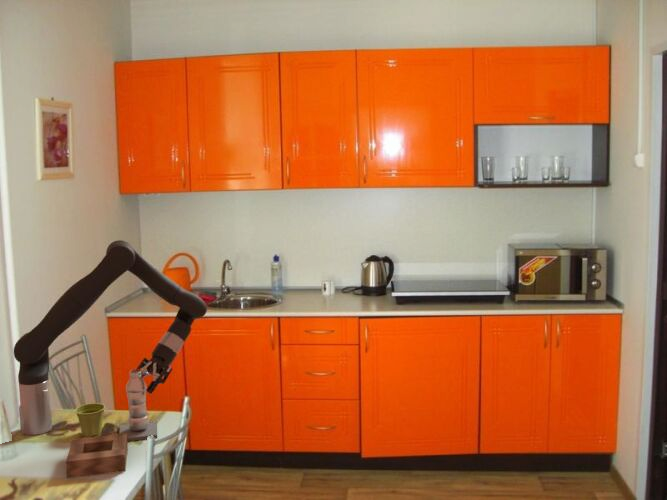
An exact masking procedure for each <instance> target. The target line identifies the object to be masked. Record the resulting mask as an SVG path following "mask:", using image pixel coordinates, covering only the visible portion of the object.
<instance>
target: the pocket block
mask: <svg viewBox="0 0 667 500" xmlns="http://www.w3.org/2000/svg"><path fill="white" fill-rule="evenodd" d="M128 451H129V449H128V441H127V433H125V434H119V433H117V434H108V435H99V436H91V437H90V436H88V437H81V438H72V439H71V443H70V446H69V449H68V453H67V456H66V460H65V469H66V470H65V472H66V479H72V478H80V477H88V476H95V475H96V476H97V475H103V474H111V473H112V474H113V473H118V472H119V473H120V472H121V473H122V472H126V469H127V458H128Z"/></svg>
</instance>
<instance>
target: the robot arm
mask: <svg viewBox="0 0 667 500" xmlns="http://www.w3.org/2000/svg"><path fill="white" fill-rule="evenodd" d="M126 272H129V273H131V274H132V275H134V276H135V277H137V278H138V279H139V280H140V281H141V282H143V283H144V284H145V285H146V286H147V287H148V288H149V289H150V290H151V291H152V292H153V293H154V294H156V296H158V297H159V298H161V299H162V300H164V301H165V302H166V303H168V304H170V305H171V306H176V307H178V308H179V309H178V311H177V313H176V314H175V317H174V319H173V322H172V323H171V325H170V326H169V327H168V329H167V330H166V331H165V333H164V334H163V335H162V337H161V338H160V340H159V341H158V343H156V345H155V347H154V349H153V350H152V352H151V358H150V359H148V358H147V357H144V358H143V359H142V361H141V362H140V363H139V365H138V366H137V367H136V369H135V370H141V374H142V377H141V378H142V379H143V380H144V378H145V377H148V376H151V375H152V376H153V379H152V380H151V381H150V384H149V385H148V386H147V387H146V393H148V394H153V392H155V390H156V388H157V387H158V385H160V384H162V385H163V384H164V385H165V383H166V381H167V380H168V378H169V376H170V375H171V373H172V371H173V368H172V366H171V365H172V364H173V362H174V360H175V359H176V357H177V356H178V355H179V353H180V351H181V349H182V348H183V346H184V343H185V342H186V340H187V339H188V337H189V336H190V334H191V332H192V327H191V326H192V325H193V323H194V321H195V320H196V319H200V318H201V319H202V317H204V316H205V315H206V313H207V311H208V306H207V304H206V302H205V301H204V300H203V299H202V298H201V297H199V296H198V295H197V294H194V293H192V292H190V291H188V290H187V289H185V288H183V287H182V286H180V285H179V284H178V283H176V281H173V279H171V278H169V277H168V276H167V275H166V274H164V273H163V272H161V271H160V270H158V269H157V268H156V267H154V265H152V264H151V263H149V262H148V261H147V260H146V258H144V257H143V256H142V255H141V254H140V253H139V252H138V251H137V250H136V249H135V248H134V247H133V246H132V245H131V244H130V242H128V241H125V240H122V239H120V240H119V239H118V240H114V241H113V242H111V243H110V244H109V245H108V246H107V248H106V252H105V255H104V256H103V258H102V259H101V260H100V262H99V263H98V265H97V266H96V267H94V269H93V270H92V271H91V272H89V273H88V274H86V275H85V276H84V277H82V278H81V279H79V280H78V281H76V282H75V283H73V285H71V286H70V287H68V289H67V290H66V291H65V292H63V294H62V295H61V296H60V297H59V299H57V301H56V302H55V303H54V304H53V305H52V307H51V308H50V309H49V310H48V311H47V313H46V315H45V316H44V317H43V318H42V319H41V320H40V321H39V323H38V324H37V325H36V326H34V328H33V329H31V330H30V331H28V332H26V333H24V334H23V335H22V336H21V337H20V338H19V339H18V340H17V341H16V343H15V344H14V347H13V356H14V359H15V360H16V361H17V362H18V363H19V370H18V375H17V376H18V377H17V379H18V380H17V381H18V390H19V391H18V393H19V404H20V405H19V407H18V414H19V424H20V427H19V428H20V435H26V436H35V435H42V434H45V433H48V432H50V431H51V430H52V429H53V420H52V407H51V406H52V405H51V392H50V381H49V380H50V379H49V377H50V376H49V371H50V353H49V352H50V351H49V348H50V346H52V345H53V342H54V341H56V339H57V338H58V337H60V336H61V334H63V333H65V331H67V330H68V329H69V328H70V327H71V326H73V325H74V324H75V323H76V322H77V321H79V319H80V318H82V317H83V316H84V315H85V314H86V313H87V311H88V310H89V309H91V308H92V306H93V305H94V304H95V303H96V302H97V301H98V299H99V298H100V297H101V296H103V294H104V292H105V291H106V290H107V289H108V288H109V286H111V285H112V284H113V283H114V282H115V281H116V280H117V279H119V278H120V277H121V276H123V275H124V274H125V273H126Z"/></svg>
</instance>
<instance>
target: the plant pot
mask: <svg viewBox="0 0 667 500" xmlns="http://www.w3.org/2000/svg"><path fill="white" fill-rule="evenodd" d="M105 409H106V405H105V404H103V403H98V402H97V403H96V402H95V403H94V402H93V403H86V404H82V405H80V406H77V407H76V408H75V410H74V412H75V413H76V416H77V418H78V423H79V426H80V431H81V435H82V436H84V437H95V435H96V436H97V435H100V434H101V433H102V431H103V430H102V427H103V418H104V413H105V412H104V411H105Z"/></svg>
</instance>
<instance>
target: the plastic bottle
mask: <svg viewBox="0 0 667 500" xmlns="http://www.w3.org/2000/svg"><path fill="white" fill-rule="evenodd" d="M141 370H142V369H140V370H136V369H133V370H130V371H129V380H128V381H127V383H126V386H125V391H126V396H127V402H128V419H127V424H128V425H129V428H130V429H131V430H133V431H141V430H144V429H146V428H147V427H148V425H149V422H150V420H149V415H148V412H147V402H146V401H147V400H146V397H147V391H146V389H147V384H146V382H145V381H144V378H143V379H142V378H141V377H142V374H141Z"/></svg>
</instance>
